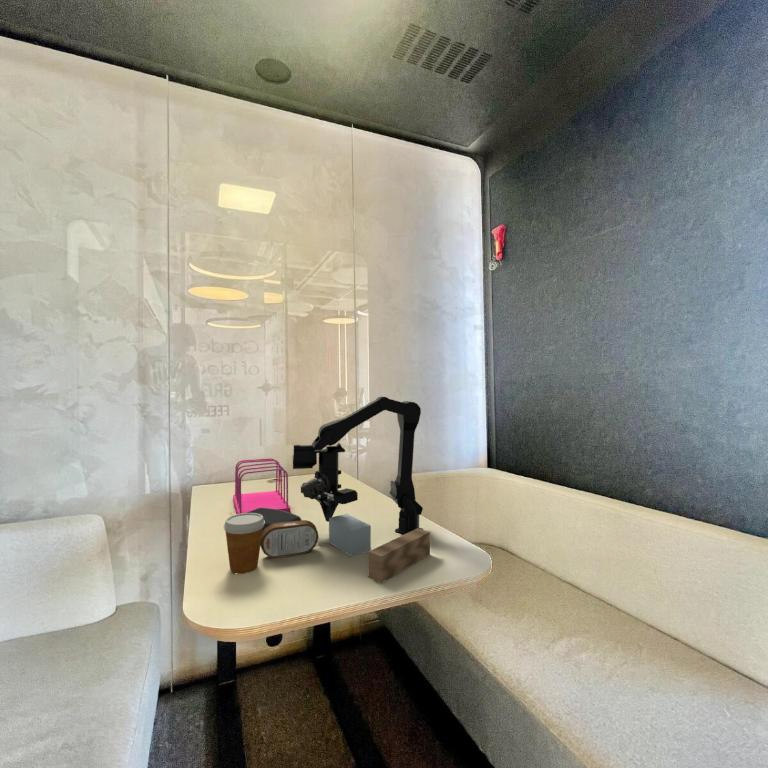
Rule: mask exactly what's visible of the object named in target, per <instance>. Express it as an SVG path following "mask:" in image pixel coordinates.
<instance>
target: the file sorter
mask: <svg viewBox="0 0 768 768" xmlns="http://www.w3.org/2000/svg"><path fill="white" fill-rule="evenodd" d="M246 463H247V464H246ZM248 463H251V464H248ZM243 464H245V465H243ZM267 465H268V466H267ZM254 466H255V467H254ZM256 466H259V467H256ZM242 468H243V469H242ZM259 469H262V470H259ZM240 470H241V471H240ZM251 470H253V471H251ZM244 471H246V472H244ZM274 471H275V490H272V491H271V490H268V491H260V492H259V491H258V492H250V493H249V492H248V493H242V478H243V477H244V476H246V475H247V474H256V473H264V472H274ZM234 473H235V474H234V483H235V484H234V488H235V489H234V494H233V495H232V501H233V505H234V509H235V511H236V514H242V513H247V512H249V511H252V510H255V509H258V508H270V509H277V510H282V511H286V512H289V513H292V512H291V510H292V509H291V506H290V505H289V475H288V472H287V470H286V469H285V468H284V467H283V466H282V465H281V464H280V462H279V461H278V460H276V459H274V458H272V457H271V458H270V457H269V458H255V459H242V460H239V461H238V462H237V463H236V465H235V472H234Z"/></svg>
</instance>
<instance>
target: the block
mask: <svg viewBox="0 0 768 768" xmlns="http://www.w3.org/2000/svg"><path fill="white" fill-rule="evenodd" d="M371 534H372V526H371V524H369V523H367V522H365V521H362V520H361V519H358V518H356V517H355V516H352V515H350V514H349V513H345V514H340V515H336V516H335V515H334V516H332V517H330V518H329V522H328V542H329V543H330V544H331V545H333V546H334V547H336V548H338V549H339V550H341V551H343V552H344V553H345V554H347V555H348V556H350V557H355V556H358V555H361V554H364V553H368V552H369V551H371V550H372V549H371V548H372V546H371V545H372V543H371V542H372V541H371V539H372V538H371V537H372V535H371Z"/></svg>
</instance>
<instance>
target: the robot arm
mask: <svg viewBox="0 0 768 768" xmlns="http://www.w3.org/2000/svg"><path fill="white" fill-rule="evenodd" d="M383 411H387V412H390V413H394V414H396V417H397V422H398V427H399V444H398V445H399V447H398V461H397V462H398V463H397V476H396V478H395V480H390V490H389V495H391V499H392V500H393V502H394V503H395V504H396V505H397V507H398V508H399V509H400V510H399V512H398V527H397V528H395V529H394V532H397V533H400V534H403V535H404V534H406V533H409V532H411V531H413V530H415V529H417V528H419V529H422V530H424V528H422V527H420V516H421V515H422V513H423V509H424V508H423V507H422V505H421V504H420V503H419V502H417V501H416V492H415V486H414V481H413V466H414V465H413V464H414V461H413V460H414V450H415V449H414V447H415V446H414V445H415V432H416V430H417V428H418V425H419V422H420V418H421V415H422V409H421V407H420V405H419V404H418V403H417V402H415V401H408V400H405V401H398V400H394V399H391V398H389V397H386V396H377V398H376V399H375V400H373V401H371V402H369V403H367V404H366V405H364V406H362V407H361V408H359V409H357V410H356V411H353V412H352V413H350V414H348V415H347V416H345V417H342V418H339V419H336V420H332V421H330V422H327V423H325V424H322V425H321V426H320V427H319V429H318V433H317V435H316V438H315V439H314V440H313V442H312V443H311V444H294V445H293V453H292V469H293V470H303V469H307V470H308V469H313V468H314V466H316V465H317V462H318V470H316V471H315V472H314V477H313V478H311V479H310V480H308V481H307V482H303V483H302V484H301V485H300V493H301V494H303V497H304V498H307V499H308V498H309V499H311V500H316V501H317V502H318V503H319V505H320V507H321V510H322V514H323V516H324V519H325V522H328V523H329V518H330V517H334V514H335V511H336V510H337V507H338V506H339V504H340V505H347V504H349V503H352V502H355V501H358V492H357V490H355V489H353V488H348V487H346V488H343V489H341V488H342V483H341V484H340V483H339V475H342V470H341V469H339V453H345V452H346V449H345V448H344V447H343V446H342V445H341V443H340V440H341V439H343V438H344V437H345V436H346V435H347V434H349V432H350V431H351V430H353V429H354V428H356V427H358V426H360V425H361V424H363V423H365V422H366V421H368V420H370V419H372V418H373V417H375V416H377V415H378V414H380V413H382V412H383ZM317 455H318V456H317ZM317 457H318V458H317ZM339 489H340V490H339Z"/></svg>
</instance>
